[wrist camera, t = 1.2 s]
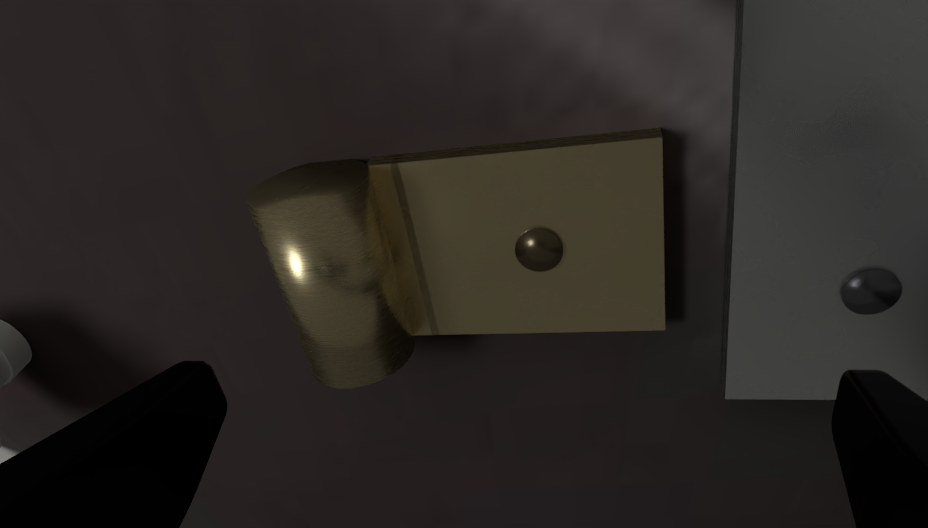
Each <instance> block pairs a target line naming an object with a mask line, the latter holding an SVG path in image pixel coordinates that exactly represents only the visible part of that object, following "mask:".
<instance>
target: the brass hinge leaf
mask: <svg viewBox="0 0 928 528" xmlns="http://www.w3.org/2000/svg"><path fill="white" fill-rule="evenodd" d="M246 201H247V204H248V207H249V209H250V212H251V215H252V217H253V220H254V222H255V225H256V228H257V230H258V233H259V235H260V238H261V241H262V243H263V246H264V249H265V251H266V254H267V256H268V259H269V262H270V264H271V267H272V269H273V272H274V275H275V277H276V280H277V283H278V285H279V288H280V290H281V293H282V296H283V298H284V301H285V303H286V306H287V309H288V311H289V314H290V316H291V319H292V322H293V324H294V327H295V330H296V332H297V335H298V337H299V340H300V343H301V345H302V348H303V350H304V353H305V356H306V358H307V361H308V364H309V366H310V369H311V371H312V374H313V376H314V377H315V378H316V380H317V381H319V382H320V383H322V384H324V385H326V386H329V387H333V388H343V389H346V388H357V387H362V386H366V385H370V384H373V383H375V382H378V381H380V380H382V379H384V378H386V377H388V376H390V375H391V374H393V373H394V372H396V371H397V370H399V369H400V368H401V367H402V366H403V365H404V364H405V363H406V362H407V361H408V359H409V358H410V356H411V354H412V353H413V350H414V346H415V340H414V336H413V335H457V334H506V333H555V332H604V331H653V330H665V274H664V208H663V141H662V133H661V129H660V128H652V129H642V130H632V131H622V132H612V133H602V134H592V135H583V136H573V137H563V138H553V139H543V140H533V141H523V142H513V143H504V144H494V145H484V146H474V147H464V148H454V149H444V150H434V151H424V152H415V153H405V154H395V155H385V156H375V157H372V158H371V159H370V160H369V161H368V163H367V164H365V163H364V162H361V161H358V160H353V159H345V160H335V161H326V162H316V163H309V164H305V165H301V166H298V167H294V168H291V169H288V170H286V171H283V172H281V173H278V174H276V175H274V176H272V177H270V178H268V179H266V180H264V181H263V182H261V183H260V184H258V185H257V186H255V187H254V188H253V189H252V190H251V191H250V192H249V194H248V195H247V198H246Z"/></svg>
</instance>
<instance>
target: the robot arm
mask: <svg viewBox="0 0 928 528" xmlns="http://www.w3.org/2000/svg"><path fill="white" fill-rule="evenodd" d="M226 412H227V400H226V397H225V395H224V393H223V390H222V388H221V386H220V384H219V382H218V379H217V377H216V375H215V373H214V371H213V369H212V367H211V366H210V365H209V364H208V363H207V362H204V361H183V362H179V363H177V364H176V365H174V366H172V367H170V368H168V369H167V370H165V371H163V372H161V373H160V374H158V375H156V376H154V377H153V378H151V379H149V380H147V381H146V382H144V383H142V384H140V385H139V386H137V387H135V388H133V389H131V390H130V391H128V392H126V393H124V394H123V395H121V396H119V397H117V398H116V399H114V400H112V401H110V402H109V403H107V404H105V405H103V406H102V407H100V408H98V409H96V410H94V411H93V412H91V413H89V414H87V415H86V416H84V417H82V418H80V419H79V420H77V421H75V422H73V423H72V424H70V425H68V426H66V427H65V428H63V429H61V430H59V431H57V432H56V433H54V434H52V435H50V436H49V437H47V438H45V439H43V440H42V441H40V442H38V443H36V444H35V445H33V446H31V447H29V448H28V449H26V450H24V451H22V452H20V453H19V454H17V455H15V456H13V457H12V458H10V459H8V460H7V461H5V462H3V463H1V464H0V528H179V527H180V525H181V523H182V521H183V519H184V517H185V515H186V513H187V511H188V509H189V506H190V504H191V502H192V500H193V497H194V495H195V493H196V490H197V488H198V485H199V483H200V480H201V478H202V475H203V473H204V470H205V467H206V465H207V462H208V460H209V457H210V455H211V452H212V449H213V447H214V444H215V442H216V439H217V437H218V434H219V431H220V429H221V426H222V424H223V421H224V419H225V416H226ZM832 434H833V438H834V442H835V446H836V450H837V454H838V458H839V462H840V466H841V470H842V474H843V477H844V481H845V485H846V489H847V493H848V497H849V501H850V505H851V509H852V513H853V516H854V520H855V524H856V528H928V401H926V400H925V399H924V398H922V397H921V396H919V395H918V394H916V393H915V392H914V391H912V390H911V389H909V388H908V387H906V386H905V385H903V384H902V383H901V382H899V381H898V380H896V379H895V378H893V377H892V376H891V375H889V374H888V373H886V372H884V371H881V370H860V369H850V370H847V371H845V372H844V373H843V374H842V376H841V379H840V382H839V387H838V392H837V396H836V401H835V405H834V410H833V414H832Z"/></svg>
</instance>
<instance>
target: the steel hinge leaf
mask: <svg viewBox="0 0 928 528" xmlns="http://www.w3.org/2000/svg"><path fill="white" fill-rule="evenodd" d="M850 369H860V370H881V371H884V372H886V373H888V374H889V375H891V376H892V377H893V378H895V379H896V380H898V381H899V382H901V383H902V384H903V385H905V386H906V387H908V388H909V389H911V390H912V391H914V392H915V393H916V394H918V395H919V396H921V397H922V398H924V399H925V400H928V0H737V8H736V32H735V55H734V79H733V103H732V126H731V150H730V174H729V197H728V221H727V245H726V268H725V292H724V315H723V339H722V363H721V384H722V388H723V392H724V397H725V399H787V400H836V396H837V392H838V387H839V382H840V379H841V376H842V374H843V373H844V372H845V371H847V370H850Z"/></svg>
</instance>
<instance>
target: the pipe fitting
mask: <svg viewBox="0 0 928 528" xmlns="http://www.w3.org/2000/svg"><path fill="white" fill-rule="evenodd" d="M31 358H32V351H31V348H30V345H29V344H28V342H27V340H26V339H25V338H24V337H23V335H22V334H21V333H20V332H19V331H18V330H16V329H15V328H14V327H13V326H11V325H10V324H8V323H6V322H4V321H2V320H0V387H1V386H2V385H5V384H8V383H9V382H10V381H11V380H12V379H13V378H14V377H15V376H16V375H17V374H18V373H19V372H20V371H21V370H22V369H23V368H24V367H25V366H26V365H27V364H28V363H29V362H30V361H31ZM0 447H1V441H0Z"/></svg>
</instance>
